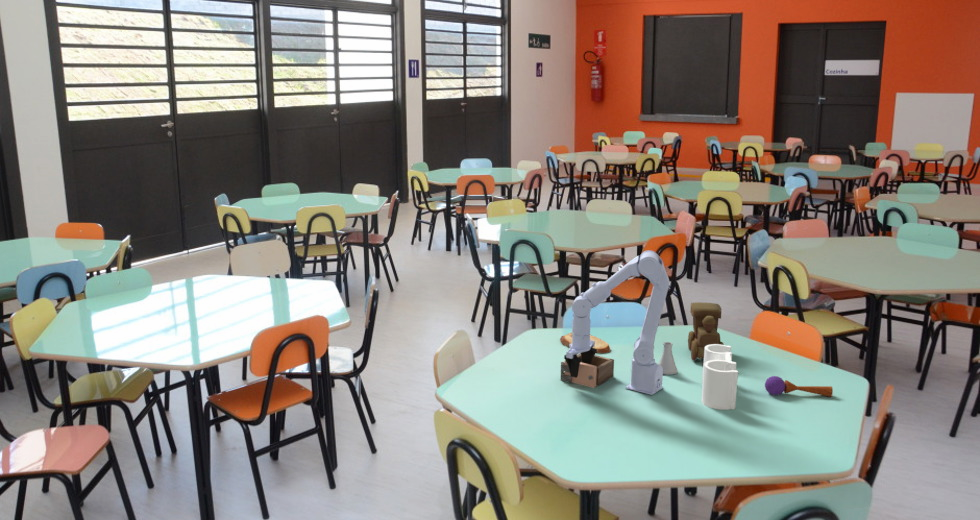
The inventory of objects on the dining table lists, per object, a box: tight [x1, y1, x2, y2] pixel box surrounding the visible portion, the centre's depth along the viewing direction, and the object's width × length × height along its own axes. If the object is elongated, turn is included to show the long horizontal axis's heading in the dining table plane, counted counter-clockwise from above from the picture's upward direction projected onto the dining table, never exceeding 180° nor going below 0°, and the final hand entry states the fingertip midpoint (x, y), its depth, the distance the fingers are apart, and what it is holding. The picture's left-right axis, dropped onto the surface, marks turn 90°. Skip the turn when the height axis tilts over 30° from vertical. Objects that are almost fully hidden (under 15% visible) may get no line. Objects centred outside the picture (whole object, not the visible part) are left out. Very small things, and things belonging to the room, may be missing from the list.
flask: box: [657, 341, 678, 376], centre depth 274 cm, size 7×7×10 cm
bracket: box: [701, 344, 739, 410], centre depth 256 cm, size 25×10×12 cm, turn 168°
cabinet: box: [560, 353, 615, 387], centre depth 269 cm, size 13×13×6 cm
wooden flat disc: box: [559, 332, 612, 354], centre depth 301 cm, size 18×18×4 cm
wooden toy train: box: [687, 302, 725, 361], centre depth 289 cm, size 20×11×17 cm, turn 172°
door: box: [564, 359, 597, 389], centre depth 264 cm, size 11×2×7 cm, turn 53°
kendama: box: [764, 375, 834, 398], centre depth 255 cm, size 6×6×20 cm
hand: (580, 373), depth 265 cm, fingers open, 7 cm apart
